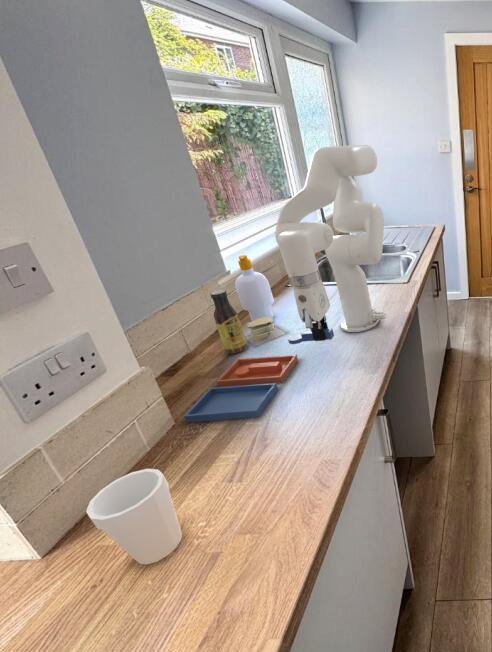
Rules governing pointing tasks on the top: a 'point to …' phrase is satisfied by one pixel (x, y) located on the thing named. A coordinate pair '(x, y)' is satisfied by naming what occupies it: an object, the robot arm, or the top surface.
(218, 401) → the blue tray
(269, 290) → the soap bottle
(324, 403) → the top surface
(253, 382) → the terracotta tray
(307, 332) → the blue spoon
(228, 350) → the sauce bottle
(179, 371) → the top surface
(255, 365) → the terracotta spoon
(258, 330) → the stacked layers on plate
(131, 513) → the foam cup
